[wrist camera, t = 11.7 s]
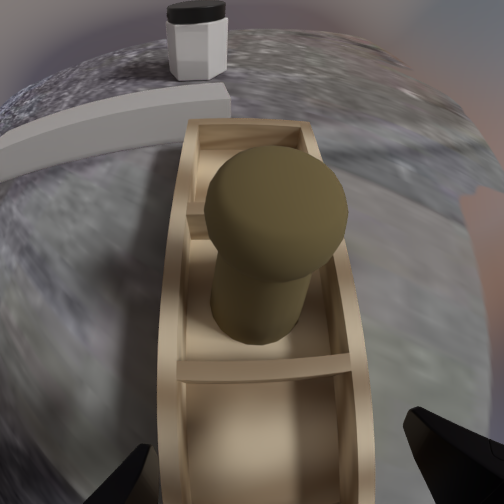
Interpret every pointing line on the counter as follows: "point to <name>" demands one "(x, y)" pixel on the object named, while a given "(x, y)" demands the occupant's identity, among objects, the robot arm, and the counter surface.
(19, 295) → the counter surface
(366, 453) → the spice rack
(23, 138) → the decorative molding
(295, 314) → the olive pepper mill
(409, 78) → the counter surface
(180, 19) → the jar
